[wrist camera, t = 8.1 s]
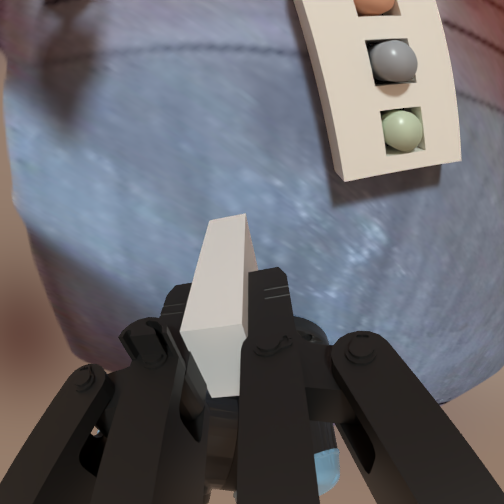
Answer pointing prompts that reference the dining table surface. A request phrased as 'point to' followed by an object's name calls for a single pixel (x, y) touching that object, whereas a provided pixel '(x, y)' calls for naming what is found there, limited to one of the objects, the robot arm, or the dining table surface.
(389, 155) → the button panel
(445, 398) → the dining table surface
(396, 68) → the grey button
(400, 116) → the sage button
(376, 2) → the terracotta button
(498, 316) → the dining table surface
